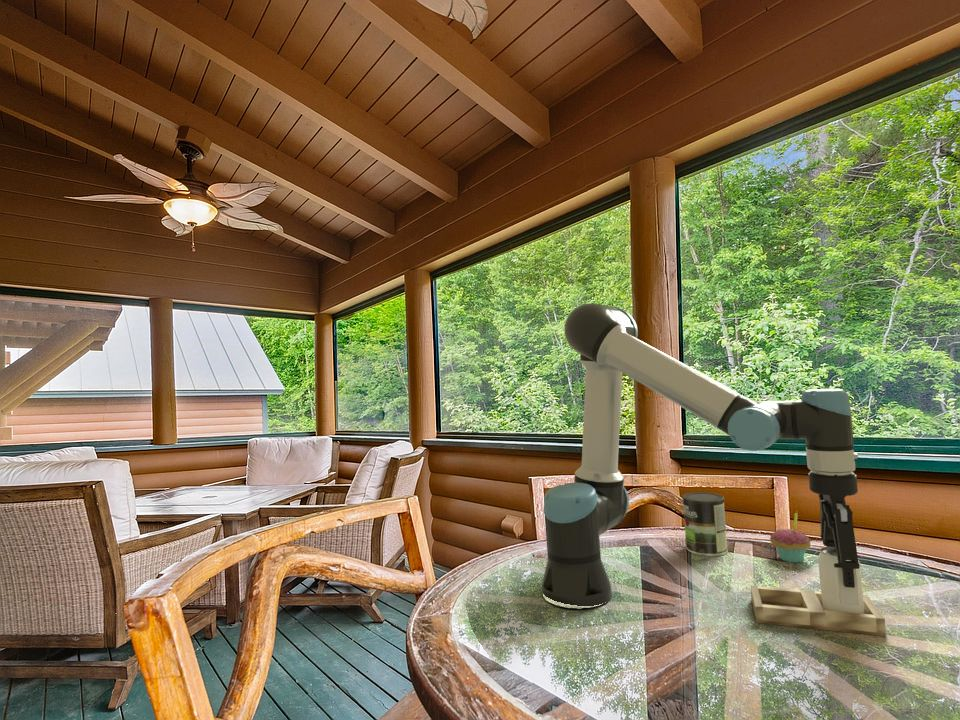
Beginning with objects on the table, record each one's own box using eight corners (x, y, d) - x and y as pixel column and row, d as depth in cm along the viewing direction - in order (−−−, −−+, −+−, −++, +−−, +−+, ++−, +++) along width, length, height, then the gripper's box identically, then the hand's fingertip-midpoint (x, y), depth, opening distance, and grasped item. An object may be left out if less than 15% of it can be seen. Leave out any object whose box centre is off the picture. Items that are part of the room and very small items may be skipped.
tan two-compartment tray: (756, 622, 98) (755, 606, 98) (751, 600, 108) (750, 585, 108) (886, 636, 91) (884, 618, 91) (868, 611, 100) (867, 595, 100)
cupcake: (812, 556, 130) (807, 507, 130) (812, 567, 122) (807, 515, 123) (772, 551, 134) (768, 504, 135) (770, 562, 127) (766, 512, 127)
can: (872, 625, 93) (866, 556, 94) (832, 624, 95) (826, 556, 95) (854, 609, 100) (848, 545, 100) (817, 609, 101) (811, 545, 102)
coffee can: (698, 558, 133) (694, 502, 133) (679, 545, 143) (675, 494, 143) (736, 554, 134) (732, 499, 134) (714, 542, 144) (710, 490, 144)
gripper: (874, 484, 86) (886, 621, 86) (840, 461, 107) (850, 572, 106) (821, 483, 89) (832, 616, 89) (798, 461, 110) (807, 569, 109)
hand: (842, 592), depth 97 cm, fingers open, 9 cm apart
